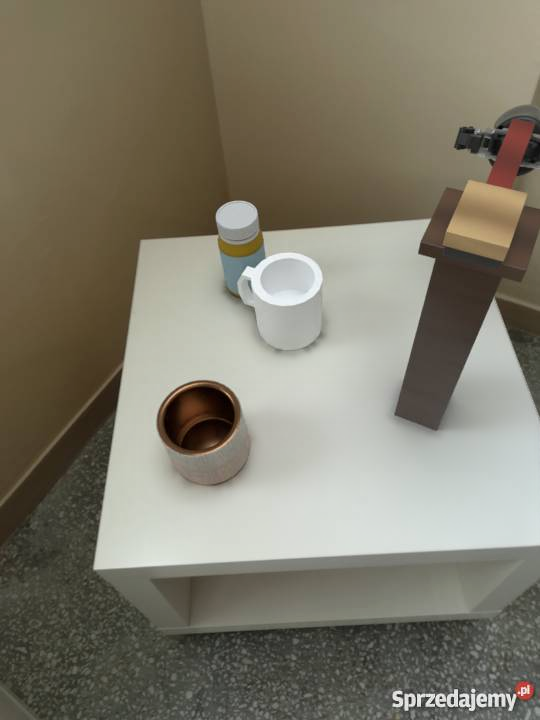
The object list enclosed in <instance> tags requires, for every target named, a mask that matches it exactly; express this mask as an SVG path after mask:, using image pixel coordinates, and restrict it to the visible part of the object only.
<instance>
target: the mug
mask: <svg viewBox="0 0 540 720" xmlns="http://www.w3.org/2000/svg"><path fill="white" fill-rule="evenodd" d="M248 280H250V281H251V286H252V292H251V290H250V288H249V286H248ZM323 281H324V279H323V271H322V270H321V268H320V266H319V264H318V263H317V262H316V261H314V259H312V258H311V257H309V256H307V255H304V254H302V253H296V252H280V253H276V254H273V255H269V256H267V257H266V259H264V260H263V261H261V262H260V263H259V264H258V265H257V266H256V267H255V268H252V267H249V266H247V267H246V269H245V270H244V272H243V273H242V275H241V277H240V278H239V280H238V282H237V285H238V292H239V295H240V297H239V298H241V300H242V303H243V304H244V305H246V306H250V307H253V308H254V312H255V319H256V325H257V331H258V333H259V336H260V338H261V339H262V340H263V341H264V342H265V343H266V344H267V345H268V346H271V347H272V348H273V349H276V350H282V351H298V350H300V349H303V348H306V347H308V346H309V345H311V344H312V343H314V342H315V341H316V339H317V338H318V337H319V336H320V334H321V331H322V328H323V285H324V284H323V283H324V282H323ZM252 293H253V294H252Z"/></svg>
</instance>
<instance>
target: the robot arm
mask: <svg viewBox="0 0 540 720" xmlns="http://www.w3.org/2000/svg"><path fill="white" fill-rule="evenodd" d="M512 119H518V120H523V121H528V122H534V123H536V124H535V126H534V129H533V132H532V135H531V137H530V140H529V143H528V145H527V148H526V151H525V153H524V156H523V159H522V161H521V164H520V167H519V169H518V172H517V175H516V177H521V176H524V175H527V174H529V173H531V172H533V171H535V170H539V171H540V108H539V106H537V105H534V104H521V105H516V106H513V107H512V108H509V109H508V110H506V111H504V112H503V113H502V114H501V115H500V116H499V117H498V118H497V119H496V121H495V122H494V124H493V127H487V128H486V129H485V130H484V131H483V130H482V129H478V128H475V127H474V126H471V125H469V126H459V129H458V132H457V136H456V138H455V143H454V145H453V148H454V149H455V150H457V151H461V150H463V151H464V150H467V152H469V154H473V155H477V156H478V157H479V158H482V159H483V158H484V159H487V160H488V162H489V165H490V166H491V168H492V167H493V165H494V163H495V160H496V158H497V155H498V153H499V150H500V148H501V146H502V143H503V141H504V138H505V136H506V133H507V131H508V129H509V126H510V124H511V121H512Z"/></svg>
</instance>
